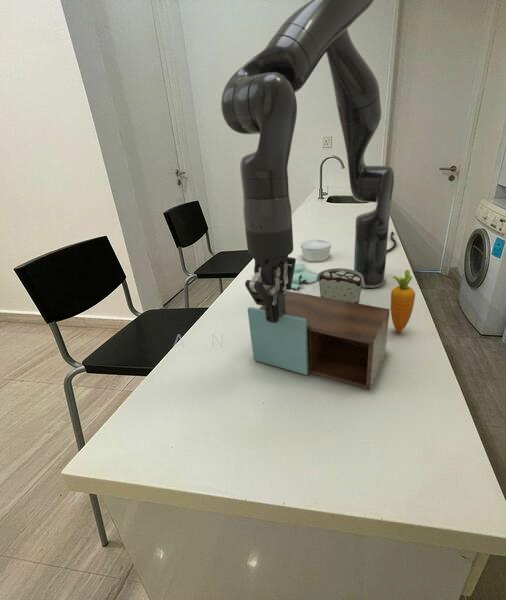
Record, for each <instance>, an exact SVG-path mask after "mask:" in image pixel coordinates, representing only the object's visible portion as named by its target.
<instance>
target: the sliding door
mask: <svg viewBox="0 0 506 600" xmlns="http://www.w3.org/2000/svg"><path fill="white" fill-rule="evenodd" d="M268 295H269V297H270V298H271V293H268ZM277 304H278V316H279V321H278V322H277V323H271V322H268V321H267V320H266V313H265V310H262V309H259V308H258V307H253V306H249V307H248V308H247V315H248V316H247V317H248V325H249V332H250V340H251V348H252V349H251V350H252V357H253V361H255V362H258V363H259V362H260V363H263V364H266V365H270V366H273V367H278V368H280V369H281V368H282V369H284V370H288V371H292V372H295V373H299V374H301V375H305V376H307V375H308V374H310V373H309V371H308V343H307V319H305V318H301V317H296V316H291V315H286V314H285V313H286V310H285V295H284V293H282V292H277Z"/></svg>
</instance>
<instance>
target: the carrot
mask: <svg viewBox="0 0 506 600" xmlns="http://www.w3.org/2000/svg"><path fill="white" fill-rule="evenodd" d="M392 278H393V279H395V281H396V282H397V283H398V285H397V286H395V287H394V288H393V289H392V290H391V292H390V315H391V321H392V324H393V327H394V329H395V331H396V333H398V334H401V333H402V332H403V331H404V329H405V328H406V327H407V325H408V323H409V322H410V319H411V317H412V313H413V309H414V305H415V299H416V291H415V290H414V289H413V287H411V286H409V284H410V282H411V281H412V278H413V276H412V275H411V272H410V270H409V269H405V270H404V277H403V276H401V277H398V275H393V276H392Z"/></svg>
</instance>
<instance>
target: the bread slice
mask: <svg viewBox="0 0 506 600" xmlns="http://www.w3.org/2000/svg"><path fill="white" fill-rule="evenodd" d="M317 280H318V281H317ZM317 280H316V281H315V282H318V286H319V297H324V298H330V299H335V300H341V301H347V302H352V303H358V304H360V299H361V293H362V288H363V289H365V288H364V286H365V284H364V279H363V276H362V275H361V274H360V273H359V272H357V271H355V270H354V269H351V268H344V267H336V268H335V267H334V268H327V269H325V270H322V271H320V272H318V273H317ZM362 284H363V287H362Z"/></svg>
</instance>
